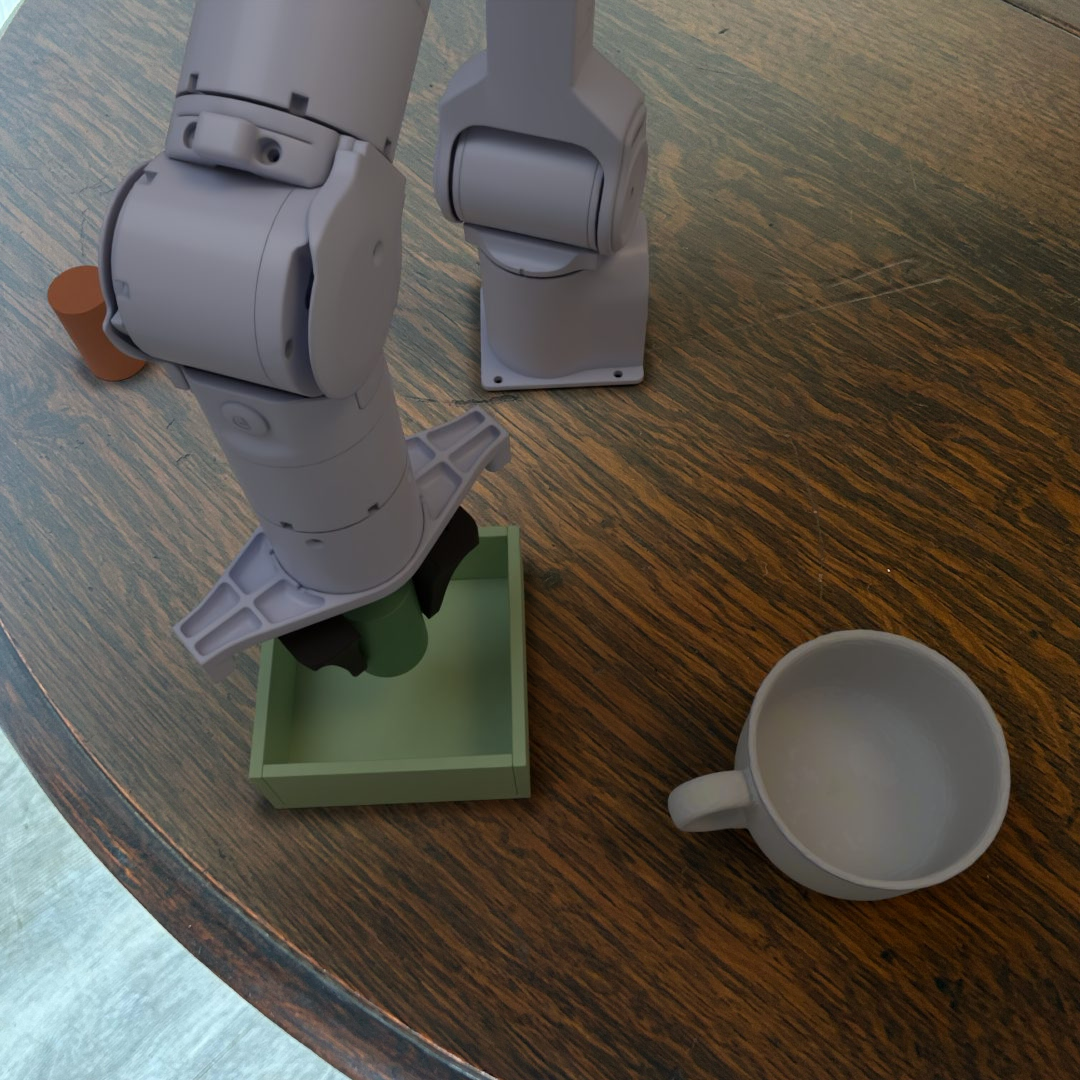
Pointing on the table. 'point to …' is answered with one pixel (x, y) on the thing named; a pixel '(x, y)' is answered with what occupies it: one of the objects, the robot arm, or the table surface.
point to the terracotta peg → (89, 322)
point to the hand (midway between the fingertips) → (385, 628)
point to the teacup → (861, 769)
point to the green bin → (409, 705)
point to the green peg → (391, 632)
